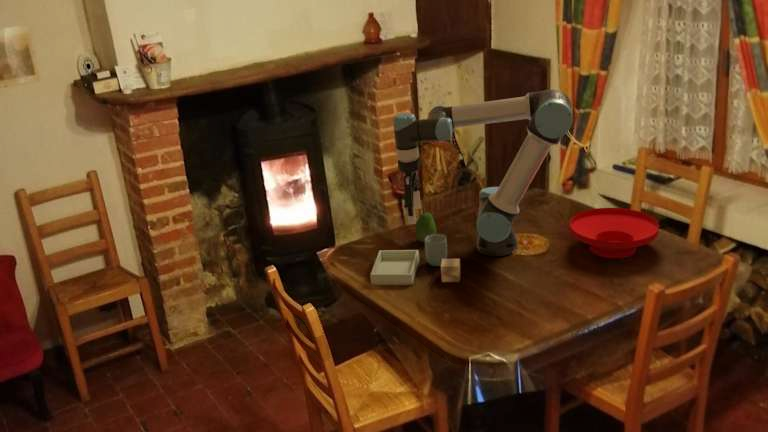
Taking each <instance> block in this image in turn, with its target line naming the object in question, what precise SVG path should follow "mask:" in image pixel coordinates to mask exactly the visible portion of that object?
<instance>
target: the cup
mask: <svg viewBox="0 0 768 432" xmlns="http://www.w3.org/2000/svg"><path fill="white" fill-rule="evenodd" d="M447 242H448V240H447V237H446V235H445V234H439V233H436V234H432V235H428V236H427V237H426V238H425V243H424V252H425V258H426V261H427V263H428V264H429V265H430V266H433V267H441V263H442V259H448V243H447Z"/></svg>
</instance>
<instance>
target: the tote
mask: <svg viewBox="0 0 768 432" xmlns="http://www.w3.org/2000/svg"><path fill="white" fill-rule="evenodd" d="M419 263H420V252H419V249H402V250H401V249H395V250H394V249H389V250H386V249H385V250H381V249H380V250H379V251H378V254H377V257H376V258H375V261H374V264H373V266H372V270H371V271H370V274H369V276H370V285H371V286H413V284H414V281H415V278H416V275H417V270H418V266H419Z"/></svg>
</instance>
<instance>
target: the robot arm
mask: <svg viewBox="0 0 768 432" xmlns="http://www.w3.org/2000/svg"><path fill="white" fill-rule="evenodd" d="M392 120H393V121H392V123H393V134H394V140H395V149H396V150H394V153H395V154H396V158H397V167H398V172H401V173H403V174H404V176H403V184H404V185H403V187H404V190H403V191H404V205H403V208H406V217H407V225H416V224H417V219H416V211H415V210H420V209H421V208H422V207H421V199H420V197H421V196H420V191H422V188H421V186H420V182H419V177H418V171H419V170H420V169H421V162H420V152H419V151H420V150H419V143H423V142H424V143H425V142H444V141H450V140H452V139H453V132H454V130H453V129H455V128H456V129H457V128H463V127H471V126H480V125H488V124H494V123H496V124H497V123H504V122H511V121H519V120H528V121H529V122H528V124H527V126H526V130H527V135H526V137H525V139H524V141H523V142H522V144H521V146H520V148H519V150H518V152H517V153H516V155H515V157H514V158H513V159H514V160H512V163H511V165H510V166H509V168H508V170H507V172H506V173H505V176H504V178H503V179H502V181H500V182H501V183H500V184H499V186H489V187H484V188H482V189H480V190H479V194H478V195H479V196H478V198H479V199H478V200H479V207H478V213H477V219H476V223H475V224H476V225H475V226H476V231H477V233H478V237H477V240H476V250H477V251H478V252H479V253H480V254H482V255H485V256H490V257H503V256H508V255H511V254H513V253H512V252H513V251H515V249H517V247H518V248H519V240H518V237H517V234H516V232H515V229H514V225H513V224H514V222H515V220H516V218H517V216H518V215H519V213H520V211H521V210H520V207H519V204H520V202H521V200H522V199H523V198H524V195H525V193H526V191H527V190H528V188H529V187H530V184H531V183H532V181H533V180H534V178H535V176H536V174H537V173H538V171H539V169H540V167H541V165H542V163H543V161H545V158H546V156H547V155H548V153H549V151H550V150H551V148H552V147H553V146H556V145H558V144H559V143H560V142H561V140H562V138H563V136H564V135H565V134H567V133H568V132H569V131H570V129H571V127H572V125H573V122H574V113H573V108H572V102H571V100H570V98H569V97H568V95H567V94H566V93H564V92H563V91H561V90H557V89H546V90H545V89H544V90H540V91H532V92H531V91H530V92H528V93H526V95H524V96H520V97H519V96H518V97H511V98H504V99H495V100H488V101H482V102H475V103H468V104H459V105H452V106H445V105H443V104H438V105H435V106H433V107H432V109H431V110H430V111H429V112H428V116H427V118H425V119H424V118H423V119H418V118H417V119H416V116H415V114H414V113H409V112H404V113H403V112H402V113H398V114H396V115H395V116H394V117H393V119H392ZM517 250H518V249H517ZM515 252H516V251H515Z"/></svg>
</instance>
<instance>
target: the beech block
mask: <svg viewBox="0 0 768 432" xmlns="http://www.w3.org/2000/svg"><path fill="white" fill-rule="evenodd" d="M440 273H441V274H440V276H441V283H460V280H461V274H462V273H461V258H447V259H442V263H441V266H440Z"/></svg>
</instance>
